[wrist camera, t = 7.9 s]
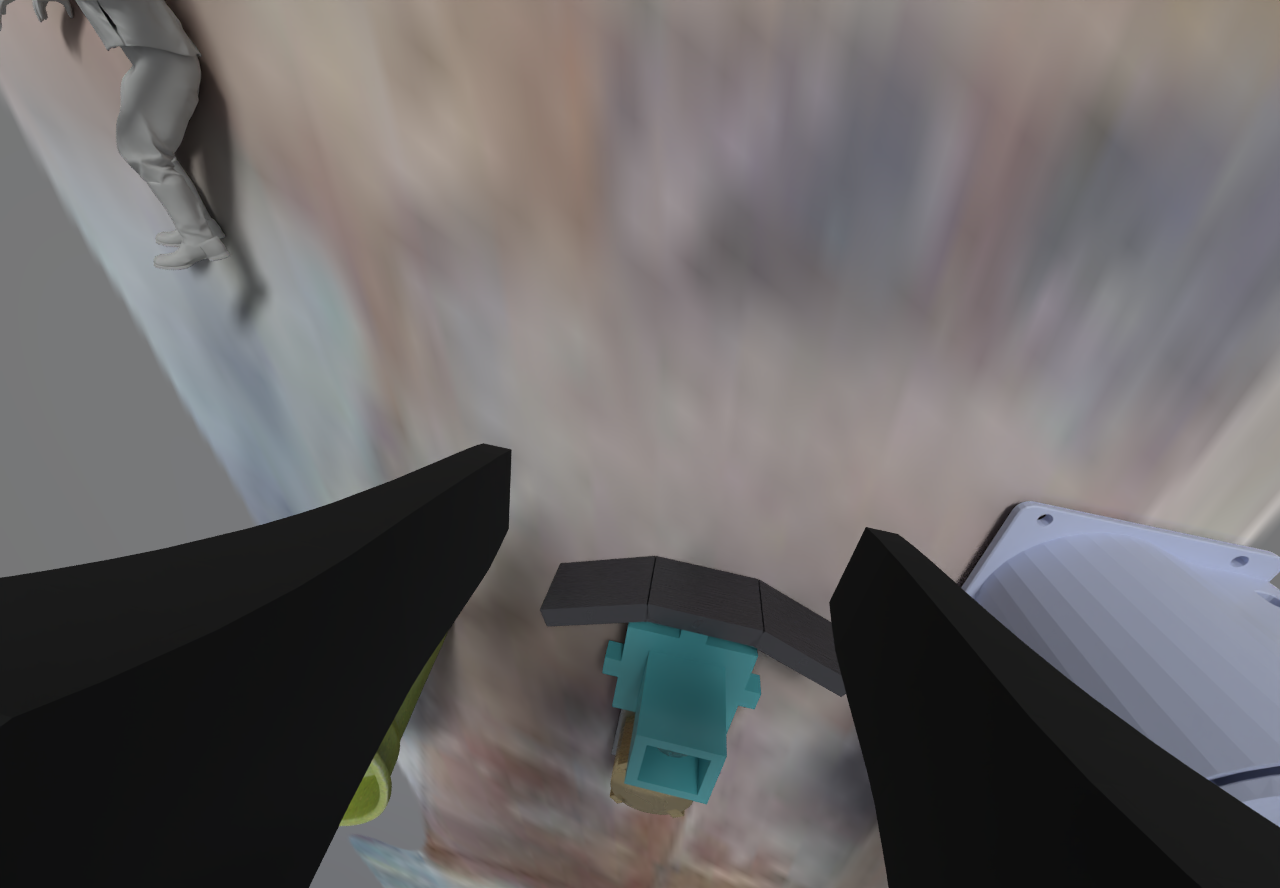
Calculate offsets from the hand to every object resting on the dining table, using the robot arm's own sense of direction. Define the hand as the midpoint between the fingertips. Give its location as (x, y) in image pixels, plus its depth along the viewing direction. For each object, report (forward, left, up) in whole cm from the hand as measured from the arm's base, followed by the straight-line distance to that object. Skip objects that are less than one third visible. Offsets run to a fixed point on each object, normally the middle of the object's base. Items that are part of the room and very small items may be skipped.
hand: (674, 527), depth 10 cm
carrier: (-2, +16, -9) cm, 19 cm away
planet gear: (-2, +15, -8) cm, 17 cm away
